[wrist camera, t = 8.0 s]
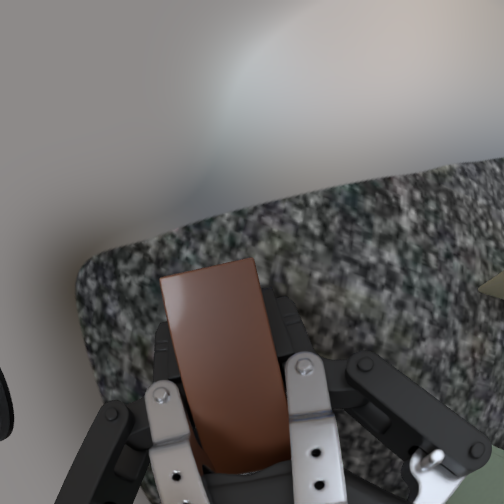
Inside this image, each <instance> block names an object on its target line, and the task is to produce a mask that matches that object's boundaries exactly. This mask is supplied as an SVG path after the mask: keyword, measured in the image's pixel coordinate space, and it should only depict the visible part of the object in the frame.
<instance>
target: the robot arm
mask: <svg viewBox="0 0 504 504" xmlns="http://www.w3.org/2000/svg"><path fill="white" fill-rule="evenodd" d="M261 291H262V295H263V299H264V303H265V308H266V312H267V316H268V320H269V325H270V329H271V333H272V337H273V342H274V346H275V350H276V354H277V359H278V363H279V367H280V371H281V375H282V380H283V384H284V388H285V389H286V393H287V401H288V414H289V430H290V444H291V460H287V461H283V462H278V463H276V464H274V465H272V466H270V467H267V468H265V469H263V470H261V471H258V472H256V473H254V474H251V475H237V474H225V473H217V472H216V470H215V468H214V466H213V464H212V462H211V460H210V459H209V457H208V455H207V453H206V452H205V451H204V450H203V448H202V445H201V443H200V440H199V437H198V433H197V430H196V427H195V424H194V421H193V418H192V414H191V411H190V408H189V404H188V401H187V397H186V394H185V390H184V387H183V383H182V380H181V376H180V372H179V368H178V364H177V360H176V356H175V352H174V348H173V344H172V339H171V335H170V331H169V326H168V322H163V323H160V325H159V327H158V329H157V331H156V333H155V349H154V351H155V352H154V369H153V384H152V385H151V386H150V387H149V388H148V389H147V391H146V393H145V396H144V397H142V398H141V399H139V400H136V401H134V402H132V403H129V404H127V405H125V404H124V403H123V402H121V401H118V400H112V401H109V402H107V403H105V404H104V405H103V406H102V407H101V408H100V410H99V412H98V414H97V416H96V418H95V420H94V422H93V424H92V425H91V427H90V430H89V431H88V433H87V436H86V437H85V439H84V441H83V443H82V445H81V447H80V449H79V451H78V453H77V455H76V457H75V460H74V462H73V464H72V466H71V468H70V470H69V472H68V474H67V477H66V479H65V481H64V483H63V485H62V487H61V490H60V492H59V494H58V496H57V499H56V501H55V503H54V504H133V502H134V499H135V497H136V494H137V492H138V490H139V487H140V485H141V482H142V480H143V478H144V475H145V473H146V470H147V468H148V466H149V463H150V461H151V465H152V470H153V474H154V478H155V482H156V486H157V489H158V493H159V497H160V500H161V504H445V503H446V502H447V500H448V499H449V498H450V497H451V495H452V494H453V493H454V492H455V490H456V489H457V488H458V486H459V485H460V484H461V482H462V481H463V480H464V478H465V477H466V476H467V475H469V474H471V473H473V472H474V471H476V470H478V469H480V468H482V467H483V466H484V465H485V464H486V463H487V462H488V461H489V459H490V457H491V454H492V444H491V441H490V439H489V438H488V437H487V436H486V435H485V434H483V433H482V432H481V431H479V430H478V429H477V428H475V427H474V426H473V425H471V424H470V423H468V422H467V421H466V420H464V419H463V418H462V417H460V416H459V415H458V414H456V413H455V412H454V411H452V410H451V409H450V408H448V407H447V406H446V405H444V404H443V403H442V402H440V401H439V400H438V399H436V398H435V397H434V396H432V395H431V394H429V393H428V392H427V391H425V390H424V389H423V388H421V387H420V386H419V385H417V384H416V383H415V382H413V381H412V380H411V379H409V378H408V377H407V376H405V375H404V374H403V373H401V372H400V371H399V370H397V369H396V368H395V367H393V366H392V365H391V364H389V363H388V362H387V361H385V360H384V359H383V358H381V357H380V356H379V355H378V354H376V353H374V352H372V351H359V352H356V353H354V354H353V355H351V356H350V358H349V359H348V360H330V359H326V358H323V357H321V356H320V355H318V354H317V353H316V352H315V350H314V348H313V346H312V344H311V341H310V339H309V337H308V334H307V332H306V329H305V327H304V325H303V322H302V320H301V317H300V315H299V313H298V310H297V308H296V305H295V303H294V302H293V301H292V300H290V299H289V298H288V297H287V296H284V297H280V298H276V297H275V295H274V292H273V289H272V287H269V288H265V289H261ZM338 408H343V409H344V410H345V411H346V412H347V413H348V414H349V415H351V416H352V417H353V418H354V419H355V420H356V421H357V422H358V423H360V424H361V425H362V426H363V427H364V428H365V429H366V430H368V431H369V432H370V433H371V434H372V435H373V436H375V437H376V438H377V439H378V440H379V441H380V442H382V443H383V444H384V445H385V446H386V447H388V448H389V449H390V450H391V451H392V452H394V453H395V454H396V455H397V456H398V457H400V458H401V459H402V460H403V461H404V463H403V465H402V468H401V476H402V479H403V480H404V481H405V483H406V484H407V485H408V488H409V497H408V499H407V500H405V499H403V498H401V497H398V496H396V495H394V494H392V493H390V492H388V491H386V490H384V489H382V488H380V487H378V486H376V485H374V484H372V483H370V482H368V481H366V480H364V479H362V478H361V477H359V476H357V475H355V474H353V473H352V472H350V471H348V470H346V469H345V468H343V463H342V456H341V449H340V442H339V436H338V429H337V423H336V418H335V414H334V412H332V409H338Z"/></svg>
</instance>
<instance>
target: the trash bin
mask: <svg viewBox="0 0 504 504" xmlns="http://www.w3.org/2000/svg"><path fill="white" fill-rule="evenodd" d="M445 504H504V450H502V449H499V448H497V447H495V446H493V445H492V454H491V457H490V459H489V461H488V462H487V463H486V464H485V465H484V466H483V467H482V468H480V469H478V470H476V471H474V472H473V473H471V474H469V475H467V476H466V477H465V478H464V480H463V481H462V482H461V484H460V485H459V486H458V488H457V489H456V490H455V492H454V493H453V494H452V495H451V497H450V498H449V499H448V500H447V502H446V503H445Z"/></svg>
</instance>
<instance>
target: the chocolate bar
mask: <svg viewBox="0 0 504 504" xmlns="http://www.w3.org/2000/svg"><path fill="white" fill-rule="evenodd" d="M159 281H160V287H161V292H162V297H163V302H164V307H165V312H166V317H167V322H168V326H169V331H170V335H171V339H172V344H173V348H174V352H175V356H176V360H177V364H178V368H179V372H180V376H181V380H182V383H183V387H184V390H185V394H186V397H187V401H188V404H189V408H190V411H191V414H192V418H193V421H194V424H195V427H196V430H197V433H198V437H199V440H200V443H201V445H202V448H203V450H204V451H205V452H206V453H207V455H208V457H209V459H210V460H211V462H212V464H213V466H214V468H215V470H216V472H217V473H225V474H244V473H249V472H255V471H260V470H263V469H265V468H267V467H270V466H272V465H274V464H276V463H278V462H283V461H287V460H291V444H290V430H289V414H288V401H287V397H286V392H285V388H284V384H283V380H282V375H281V371H280V367H279V363H278V359H277V354H276V350H275V346H274V342H273V337H272V333H271V329H270V325H269V320H268V316H267V312H266V308H265V303H264V299H263V295H262V291H261V287H260V282H259V278H258V274H257V270H256V265H255V261H254V259H253V258H252V257H250V258H246V259H241V260H237V261H232V262H228V263H223V264H219V265H214V266H210V267H205V268H201V269H196V270H192V271H187V272H183V273H178V274H174V275H169V276H165V277H161V278H160V279H159Z"/></svg>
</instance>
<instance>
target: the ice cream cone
mask: <svg viewBox="0 0 504 504" xmlns="http://www.w3.org/2000/svg"><path fill="white" fill-rule="evenodd" d="M478 291H479V292H481V293H484V294H487V295H491V296H494V297H497V298H501V299H504V271H503V272H501V273H500V274H498V275H497V276H495V277H494V278H492V279H491V280H489V281H488V282H486V283H485V284H483V285H482V286H480V287H479V288H478Z"/></svg>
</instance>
